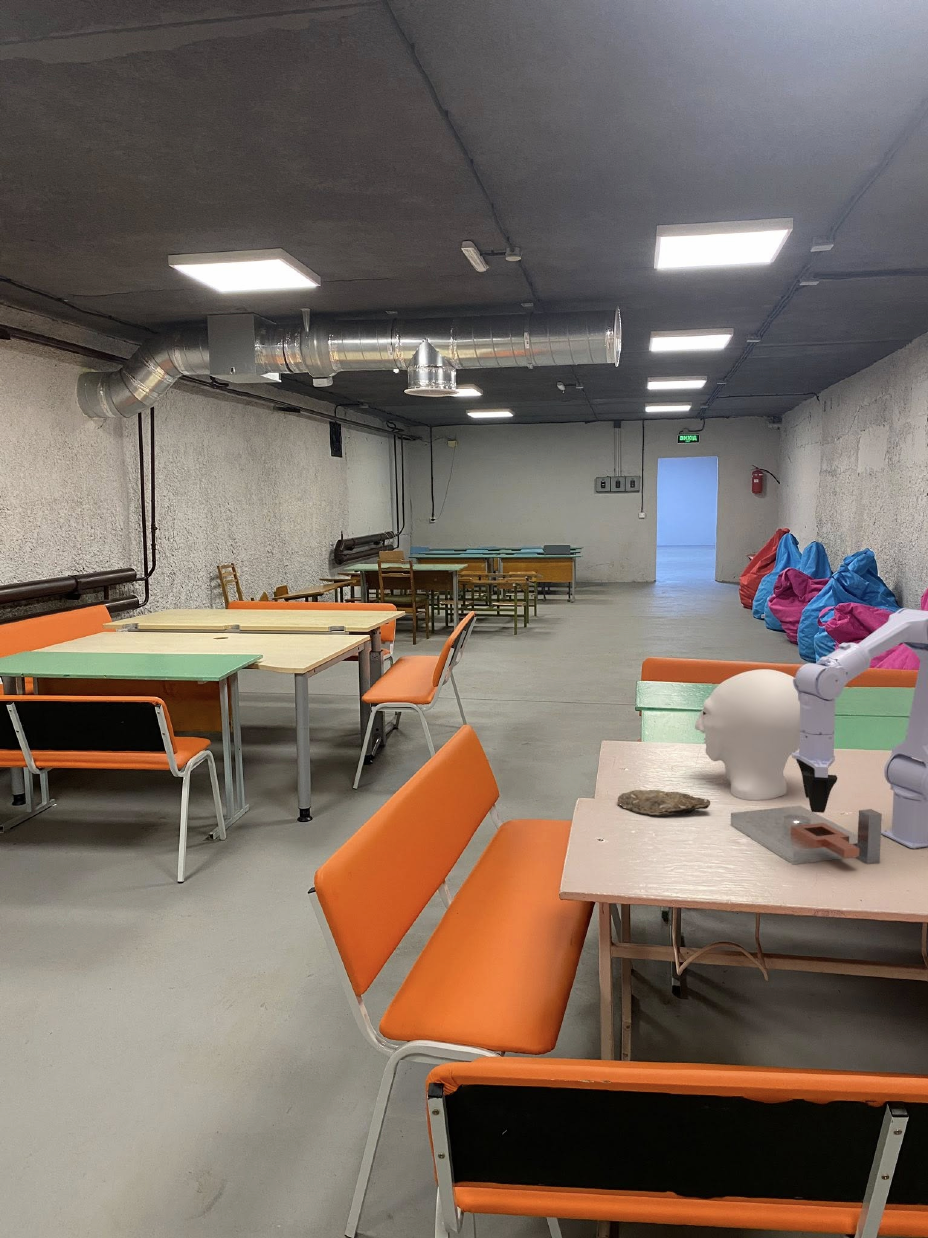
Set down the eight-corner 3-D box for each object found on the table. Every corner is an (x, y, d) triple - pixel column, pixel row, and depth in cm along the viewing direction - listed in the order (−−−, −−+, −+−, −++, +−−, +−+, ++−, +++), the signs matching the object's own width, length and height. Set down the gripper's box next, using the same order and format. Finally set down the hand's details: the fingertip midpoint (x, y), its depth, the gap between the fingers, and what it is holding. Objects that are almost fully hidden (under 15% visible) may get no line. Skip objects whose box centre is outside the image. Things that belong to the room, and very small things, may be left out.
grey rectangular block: (869, 857, 145) (871, 809, 144) (879, 862, 143) (881, 814, 142) (856, 858, 145) (858, 810, 144) (867, 864, 142) (869, 815, 141)
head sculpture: (802, 811, 169) (806, 680, 166) (679, 787, 186) (681, 668, 183) (823, 789, 183) (827, 668, 180) (707, 769, 199) (709, 658, 196)
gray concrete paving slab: (799, 817, 166) (800, 798, 165) (890, 866, 141) (891, 844, 141) (730, 825, 162) (731, 805, 161) (811, 876, 138) (811, 853, 137)
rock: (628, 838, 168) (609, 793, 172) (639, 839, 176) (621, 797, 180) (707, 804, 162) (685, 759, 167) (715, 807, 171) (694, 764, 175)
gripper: (788, 720, 151) (787, 790, 153) (797, 740, 137) (795, 816, 139) (829, 722, 149) (827, 792, 151) (842, 742, 135) (839, 820, 137)
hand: (814, 804), depth 145 cm, fingers open, 7 cm apart
